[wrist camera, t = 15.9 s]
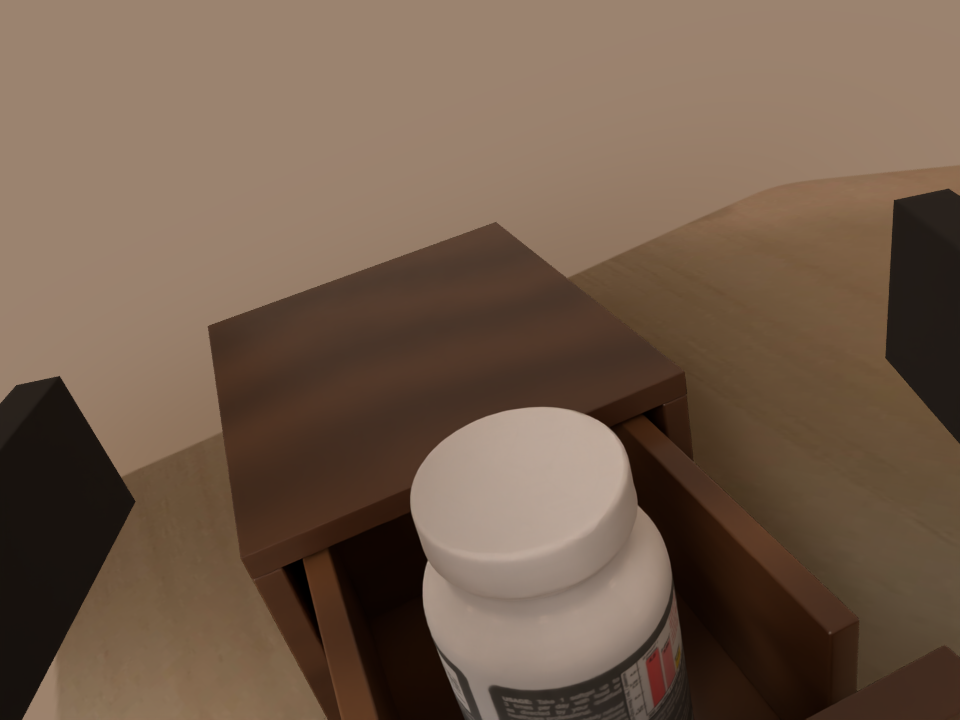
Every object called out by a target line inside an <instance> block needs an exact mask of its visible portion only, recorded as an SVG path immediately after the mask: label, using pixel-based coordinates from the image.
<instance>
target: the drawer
mask: <svg viewBox="0 0 960 720" xmlns="http://www.w3.org/2000/svg"><path fill="white" fill-rule="evenodd" d="M608 428H609V429H610V430H612V431H613V432H614V433H615V434H616V436H617V437H618V438H619V440H620V441H621V443H622V444H623V446H624V448H625V450H626V453H627V455H628V459H629V463H630V468H631V473H632V478H633V483H634V487H635V490H636V494H637V503H638V506H639V507H640V508H641V509H642V510H643V511H644V512H645V513H646V514H647V515H648V516H649V518H650V519H651V520H652V522H653V523H654V524H655V526H656V527H657V529H658V531H659V532H660V534H661V536H662V539H663V541H664V543H665V546H666V549H667V552H668V556H669V560H670V564H671V569H672V575H673V581H674V587H675V594H676V599H677V607H678V615H679V621H680V628H681V635H682V642H683V649H684V656H685V662H686V669H687V675H688V681H689V688H690V696H691V702H692V708H693V715H694V720H960V657H959V656H957V655H956V654H955V653H954V652H953V651H952V650H951V649H949V648H948V647H947V646H945V645H944V646H941V647H939V648H938V649H936V650H934V651H932V652H930V653H928V654H926V655H925V656H923V657H921V658H919V659H917V660H915V661H913V662H911V663H910V664H908V665H906V666H904V667H902V668H900V669H898V670H897V671H895V672H893V673H891V674H889V675H887V676H885V677H883V678H882V679H880V680H878V681H876V682H874V683H872V684H870V685H869V686H867V687H865V688H863V689H861V690H859V691H857V692H856V689H857V666H858V643H859V619H858V617H857V616H856V615H855V614H854V613H853V612H852V611H851V610H849V609H848V608H847V607H846V606H845V605H844V604H843V603H842V602H841V601H840V600H839V599H838V598H837V597H836V596H835V595H834V594H833V593H832V592H830V591H829V590H828V589H827V588H826V587H825V586H824V585H823V584H822V583H821V582H820V581H819V580H818V579H817V578H816V577H815V576H814V575H812V574H811V573H810V572H809V571H808V570H807V569H806V568H805V567H804V566H803V565H802V564H801V563H800V562H799V561H798V560H797V559H796V558H795V557H793V556H792V555H791V554H790V553H789V552H788V551H787V550H786V549H785V548H784V547H783V546H782V545H781V544H780V543H779V542H778V541H777V540H775V539H774V538H773V537H772V536H771V535H770V534H769V533H768V532H767V531H766V530H765V529H764V528H763V527H762V526H761V525H760V524H759V523H758V522H756V521H755V520H754V519H753V518H752V517H751V516H750V515H749V514H748V513H747V512H746V511H745V510H744V509H743V508H742V507H741V506H740V505H738V504H737V503H736V502H735V501H734V500H733V499H732V498H731V497H730V496H729V495H728V494H727V493H726V492H725V491H724V490H723V489H722V488H721V487H719V486H718V485H717V484H716V483H715V482H714V481H713V480H712V479H711V478H710V477H709V476H708V475H707V474H706V473H705V472H704V471H703V470H701V469H700V468H699V467H698V466H697V465H696V464H695V463H694V462H693V461H692V460H691V459H690V458H689V457H688V456H687V455H686V454H685V453H684V452H682V451H681V450H680V449H679V448H678V447H677V446H676V445H675V444H674V443H673V442H672V441H671V440H670V439H669V438H668V437H667V436H666V435H664V434H663V433H662V432H661V431H660V430H659V429H658V428H657V427H656V426H655V425H654V424H653V423H652V422H651V421H650V420H649V419H648V418H647V417H645V416H644V415H643V414H642V413H641V414H639V415H637V416H634V417H632V418H630V419H627V420H625V421H622V422H620V423H618V424H615V425H613V426H611V427H608ZM302 560H303V564H304V568H305V572H306V576H307V580H308V584H309V588H310V592H311V597H312V601H313V605H314V609H315V613H316V617H317V621H318V625H319V629H320V634H321V638H322V642H323V646H324V650H325V654H326V658H327V662H328V666H329V670H330V675H331V679H332V683H333V687H334V691H335V695H336V699H337V703H338V707H339V712H340V716H341V720H465V719H464V716H463V714H462V711H461V709H460V706H459V704H458V701H457V699H456V696H455V694H454V691H453V689H452V686H451V684H450V681H449V678H448V676H447V674H446V671H445V668H444V666H443V664H442V661H441V659H440V656H439V653H438V651H437V648H436V646H435V644H434V641H433V638H432V636H431V633H430V629H429V626H428V624H427V619H426V615H425V611H424V606H423V580H424V573H425V569H426V565H427V562H428V559H427V557H426V555H425V553H424V550H423V547H422V544H421V541H420V538H419V535H418V532H417V529H416V526H415V523H414V520H413V517H412V513H411V512H410V513H407V514H405V515H403V516H400V517H398V518H396V519H393V520H391V521H389V522H386V523H384V524H382V525H379V526H377V527H375V528H372V529H370V530H368V531H365V532H363V533H361V534H358V535H356V536H354V537H351V538H349V539H346V540H344V541H342V542H339V543H337V544H335V545H332V546H330V547H328V548H325V549H323V550H321V551H318V552H316V553H314V554H311V555H309V556H307V557H304V558H302Z"/></svg>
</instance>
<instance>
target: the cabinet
mask: <svg viewBox="0 0 960 720" xmlns="http://www.w3.org/2000/svg"><path fill="white" fill-rule="evenodd" d="M208 331H209V338H210V346H211V353H212V359H213V367H214V374H215V381H216V388H217V395H218V402H219V409H220V416H221V423H222V430H223V437H224V444H225V451H226V458H227V465H228V472H229V479H230V486H231V493H232V501H233V508H234V515H235V522H236V529H237V536H238V543H239V550H240V557H241V560H242V562H243V564H244V566H245V567H246V569H247V571H248V573H249V575H250V577H251V578H252V579H253V582H254V584H255V585H256V587H257V589H258V591H259V593H260V595H261V597H262V598H263V600H264V602H265V604H266V606H267V608H268V610H269V611H270V613H271V615H272V617H273V619H274V621H275V622H276V624H277V626H278V628H279V630H280V632H281V634H282V635H283V637H284V639H285V641H286V643H287V645H288V647H289V648H290V650H291V652H292V654H293V656H294V658H295V660H296V661H297V663H298V665H299V667H300V669H301V671H302V673H303V674H304V676H305V678H306V680H307V682H308V684H309V686H310V687H311V689H312V691H313V693H314V695H315V697H316V699H317V700H318V702H319V704H320V706H321V708H322V710H323V712H324V713H325V715H326V717H327V719H328V720H341V716H340V712H339V707H338V703H337V699H336V695H335V691H334V687H333V683H332V679H331V675H330V670H329V666H328V662H327V658H326V654H325V650H324V646H323V642H322V638H321V634H320V629H319V625H318V621H317V617H316V613H315V609H314V605H313V601H312V597H311V592H310V588H309V584H308V580H307V576H306V572H305V568H304V564H303V560H302V558H304V557H307V556H309V555H311V554H314V553H316V552H318V551H321V550H323V549H325V548H328V547H330V546H332V545H335V544H337V543H339V542H342V541H344V540H346V539H349V538H351V537H354V536H356V535H358V534H361V533H363V532H365V531H368V530H370V529H372V528H375V527H377V526H379V525H382V524H384V523H386V522H389V521H391V520H393V519H396V518H398V517H400V516H403V515H405V514H407V513H410V512H411V507H410V494H411V487H412V484H413V481H414V478H415V475H416V473H417V471H418V469H419V467H420V466H421V464H422V463H423V462H424V460H425V459H426V457H427V456H428V455H429V453H430V452H431V451H432V450H433V449H434V448H435V447H436V446H437V445H438V444H440V443H441V442H442V441H443V440H444V439H446V438H447V437H449V436H450V435H451V434H453V433H454V432H456V431H457V430H459V429H461V428H463V427H464V426H466V425H468V424H470V423H472V422H474V421H476V420H479V419H481V418H484V417H486V416H489V415H493V414H497V413H500V412H503V411H508V410H514V409H521V408H528V407H555V408H563V409H568V410H573V411H577V412H580V413H583V414H585V415H588V416H590V417H592V418H594V419H596V420H598V421H600V422H601V423H603V424H605V425H606V426H607V427H611V426H613V425H615V424H618V423H620V422H622V421H625V420H627V419H630V418H632V417H634V416H637V415H639V414H641V413H642V414H643V415H644V416H645V417H647V418H648V419H649V420H650V421H651V422H652V423H653V424H654V425H655V426H656V427H657V428H658V429H659V430H660V431H661V432H662V433H663V434H664V435H666V436H667V437H668V438H669V439H670V440H671V441H672V442H673V443H674V444H675V445H676V446H677V447H678V448H679V449H680V450H681V451H682V452H684V453H685V454H686V455H687V456H688V457H689V458H690V459H691V460H692V461H693V462H694V460H693V451H692V442H691V432H690V423H689V413H688V404H687V396H686V394H687V389H686V379H685V372H684V370H682V369H681V368H680V367H679V366H677V365H676V364H675V363H673V362H672V361H671V360H670V359H668V358H667V357H666V356H665V355H663V354H662V353H661V352H660V351H658V350H657V349H656V348H654V347H653V346H652V345H651V344H649V343H648V342H647V341H646V340H644V339H643V338H642V337H641V336H639V335H638V334H637V333H636V332H634V331H633V330H632V329H630V328H629V327H628V326H627V325H625V324H624V323H623V322H622V321H620V320H619V319H618V318H617V317H615V316H614V315H613V314H611V313H610V312H609V311H608V310H606V309H605V308H604V307H603V306H601V305H600V304H599V303H598V302H596V301H595V300H594V299H593V298H591V297H590V296H589V295H587V294H586V293H585V292H584V291H582V290H581V289H580V288H579V287H577V286H576V285H575V284H574V283H572V282H571V281H570V280H569V279H567V278H566V277H565V276H563V275H562V274H561V273H560V272H558V271H557V270H556V269H555V268H553V267H552V266H551V265H549V264H548V263H547V262H546V261H544V260H543V259H542V258H540V257H539V256H538V255H537V254H536V253H534V252H533V251H532V250H531V249H529V248H528V247H527V246H525V245H524V244H523V243H522V242H520V241H519V240H518V239H517V238H515V237H514V236H513V235H512V234H510V233H509V232H508V231H506V230H505V229H504V228H503V227H501V226H500V225H499V224H498V223H496V222H495V223H492V224H489V225H486V226H484V227H481V228H478V229H475V230H473V231H470V232H467V233H464V234H462V235H459V236H456V237H453V238H450V239H448V240H445V241H442V242H440V243H437V244H434V245H431V246H429V247H426V248H423V249H420V250H418V251H414V252H412V253H409V254H406V255H403V256H401V257H398V258H395V259H392V260H389V261H387V262H384V263H381V264H379V265H376V266H373V267H370V268H367V269H365V270H362V271H359V272H356V273H354V274H351V275H348V276H345V277H343V278H340V279H337V280H334V281H331V282H329V283H326V284H323V285H320V286H317V287H315V288H312V289H309V290H306V291H304V292H301V293H298V294H295V295H292V296H290V297H287V298H284V299H281V300H279V301H276V302H273V303H270V304H268V305H265V306H262V307H259V308H257V309H254V310H251V311H248V312H245V313H243V314H240V315H237V316H234V317H231V318H229V319H226V320H223V321H221V322H218V323H215V324H212V325H209V326H208Z"/></svg>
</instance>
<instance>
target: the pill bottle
mask: <svg viewBox="0 0 960 720" xmlns="http://www.w3.org/2000/svg"><path fill="white" fill-rule="evenodd" d="M410 507H411V513H412V517H413V520H414V523H415V526H416V529H417V532H418V535H419V538H420V541H421V544H422V547H423V550H424V553H425V555H426V557H427V559H428V562H427V565H426V569H425V573H424V580H423V606H424V611H425V615H426V619H427V624H428V626H429V629H430V633H431V636H432V638H433V641H434V644H435V646H436V648H437V651H438V653H439V656H440V659H441V661H442V664H443V666H444V668H445V671H446V674H447V676H448V678H449V681H450V684H451V686H452V689H453V691H454V694H455V696H456V699H457V701H458V704H459V706H460V709H461V711H462V714H463V716H464V719H465V720H694V715H693V708H692V702H691V696H690V688H689V681H688V675H687V669H686V662H685V656H684V649H683V642H682V635H681V628H680V621H679V615H678V607H677V599H676V594H675V587H674V581H673V575H672V569H671V564H670V560H669V556H668V552H667V549H666V546H665V543H664V541H663V539H662V536H661V534H660V532H659V531H658V529H657V527H656V526H655V524H654V523H653V522H652V520H651V519H650V518H649V516H648V515H647V514H646V513H645V512H644V511H643V510H642V509H641V508H640V507H639V506H638V503H637V494H636V490H635V487H634V483H633V478H632V473H631V468H630V463H629V459H628V455H627V453H626V450H625V448H624V446H623V444H622V443H621V441H620V440H619V438H618V437H617V436H616V434H615V433H614V432H613V431H612V430H610V429H609V428H608V427H607V426H606V425H605V424H603V423H601V422H600V421H598V420H596V419H594V418H592V417H590V416H588V415H585V414H583V413H580V412H577V411H573V410H568V409H563V408H555V407H528V408H521V409H514V410H508V411H503V412H500V413H497V414H493V415H489V416H486V417H484V418H481V419H479V420H476V421H474V422H472V423H470V424H468V425H466V426H464V427H463V428H461V429H459V430H457V431H456V432H454V433H453V434H451V435H450V436H449V437H447V438H446V439H444V440H443V441H442V442H441V443H440V444H438V445H437V446H436V447H435V448H434V449H433V450H432V451H431V452H430V453H429V455H428V456H427V457H426V459H425V460H424V462H423V463H422V464H421V466H420V467H419V469H418V471H417V473H416V475H415V478H414V481H413V484H412V487H411V494H410Z"/></svg>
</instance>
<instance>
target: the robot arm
mask: <svg viewBox="0 0 960 720" xmlns="http://www.w3.org/2000/svg"><path fill="white" fill-rule="evenodd" d="M885 358H886V359H887V360H888V361H889V363H890V364H891V365H892V366H893V367H894V368H895V369H896V371H897V372H898V373H899V374H900V375H901V376H902V378H903V379H904V380H905V381H906V382H907V383H908V385H909V386H910V387H911V388H912V389H913V390H914V391H915V393H916V394H917V395H918V396H919V397H920V398H921V400H922V401H923V402H924V403H925V404H926V405H927V406H928V408H929V409H930V410H931V411H932V412H933V413H934V415H935V416H936V417H937V418H938V419H939V420H940V422H941V423H942V424H943V425H944V426H945V427H946V428H947V430H948V431H949V432H950V433H951V434H952V435H953V437H954V438H955V439H956V440H957V441H958V442H959V443H960V196H959V195H957V194H956V193H954V192H953V191H951V190H950V189H945V190H940V191H935V192H931V193H926V194H921V195H916V196H912V197H907V198H902V199H898V200H894V209H893V227H892V246H891V264H890V283H889V301H888V320H887V339H886V357H885ZM134 503H135V500H134V498H133V496H132V495H131V493H130V491H129V490H128V488H127V486H126V485H125V483H124V482H123V480H122V478H121V477H120V475H119V473H118V472H117V470H116V468H115V467H114V465H113V464H112V462H111V460H110V459H109V457H108V455H107V454H106V452H105V450H104V449H103V447H102V445H101V444H100V442H99V440H98V439H97V437H96V435H95V434H94V432H93V430H92V429H91V427H90V425H89V424H88V422H87V420H86V419H85V417H84V416H83V414H82V412H81V411H80V409H79V407H78V406H77V404H76V402H75V401H74V399H73V397H72V396H71V394H70V393H69V391H68V389H67V387H66V386H65V384H64V383H63V381H62V379H61V378H60V376H58V377H53V378H49V379H44V380H39V381H34V382H30V383H25V384H21V385H16V386H15V387H14V389H13V390H12V391H11V392H10V393H9V394H8V395H7V397H6V398H5V399H4V400H3V401H2V402H1V403H0V720H22V719H23V717H24V715H25V713H26V711H27V709H28V707H29V705H30V703H31V701H32V699H33V698H34V696H35V694H36V692H37V690H38V688H39V686H40V684H41V682H42V680H43V678H44V676H45V674H46V673H47V671H48V669H49V667H50V665H51V663H52V661H53V659H54V657H55V655H56V653H57V651H58V650H59V648H60V646H61V644H62V642H63V640H64V638H65V636H66V634H67V632H68V630H69V628H70V626H71V625H72V623H73V621H74V619H75V617H76V615H77V613H78V611H79V609H80V607H81V605H82V603H83V601H84V600H85V598H86V596H87V594H88V592H89V590H90V588H91V586H92V584H93V582H94V580H95V578H96V576H97V575H98V573H99V571H100V569H101V567H102V565H103V563H104V561H105V559H106V557H107V555H108V553H109V551H110V550H111V548H112V546H113V544H114V542H115V540H116V538H117V536H118V534H119V532H120V530H121V528H122V526H123V525H124V523H125V521H126V519H127V517H128V515H129V513H130V511H131V509H132V507H133V505H134Z"/></svg>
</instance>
